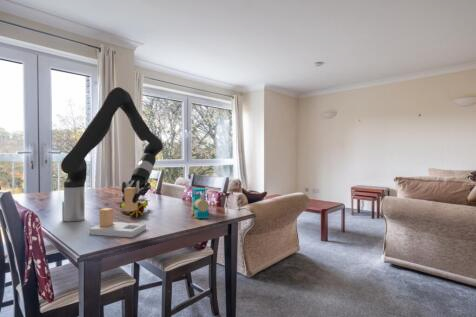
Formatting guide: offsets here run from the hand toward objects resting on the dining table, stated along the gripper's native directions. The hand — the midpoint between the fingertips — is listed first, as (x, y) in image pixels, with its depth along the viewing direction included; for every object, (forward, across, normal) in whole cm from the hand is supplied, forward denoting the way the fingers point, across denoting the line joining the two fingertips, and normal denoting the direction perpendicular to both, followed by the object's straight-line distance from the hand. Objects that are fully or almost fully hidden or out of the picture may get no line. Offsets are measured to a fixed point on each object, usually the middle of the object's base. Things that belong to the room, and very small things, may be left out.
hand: (128, 201), depth 120 cm
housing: (+9, -6, +11) cm, 16 cm away
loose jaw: (+2, 0, +4) cm, 4 cm away
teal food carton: (-17, +21, +38) cm, 46 cm away
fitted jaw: (+9, -12, +11) cm, 19 cm away
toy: (-16, -19, +37) cm, 45 cm away
